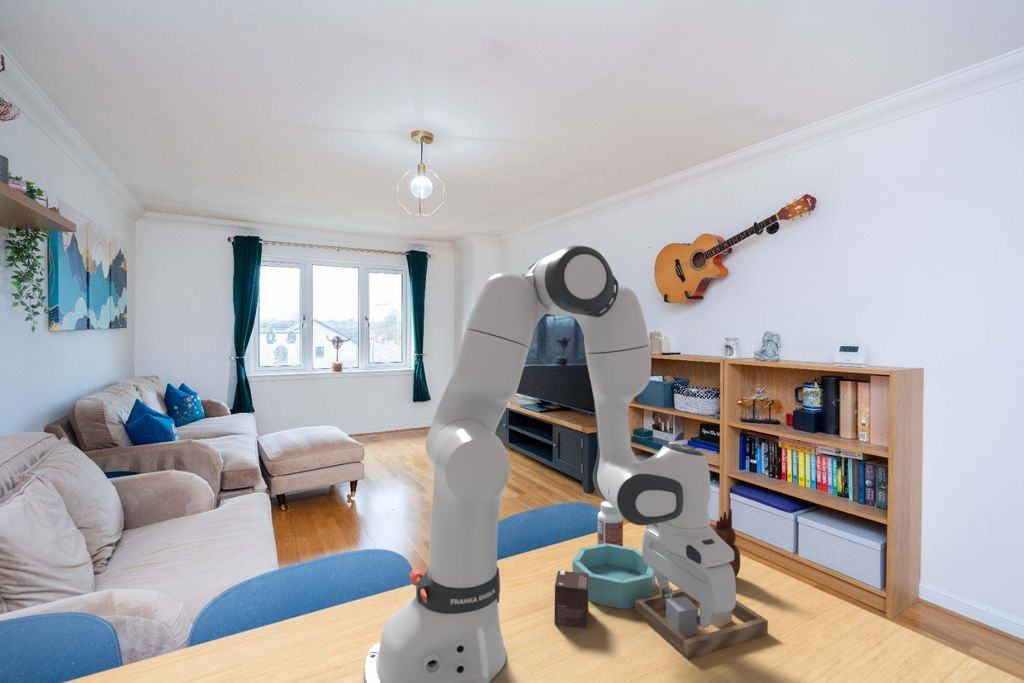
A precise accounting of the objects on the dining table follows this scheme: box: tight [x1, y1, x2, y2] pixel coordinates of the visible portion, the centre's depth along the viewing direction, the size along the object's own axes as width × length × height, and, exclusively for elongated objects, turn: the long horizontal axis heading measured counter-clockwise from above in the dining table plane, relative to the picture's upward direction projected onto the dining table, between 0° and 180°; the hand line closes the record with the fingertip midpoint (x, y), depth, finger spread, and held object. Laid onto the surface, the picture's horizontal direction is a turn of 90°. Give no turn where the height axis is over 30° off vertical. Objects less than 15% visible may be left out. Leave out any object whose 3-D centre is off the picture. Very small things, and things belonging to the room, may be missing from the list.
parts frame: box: [634, 588, 769, 661], centre depth 88 cm, size 18×14×2 cm
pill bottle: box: [597, 500, 624, 546], centre depth 118 cm, size 6×6×11 cm
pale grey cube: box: [665, 597, 700, 637], centre depth 86 cm, size 4×4×4 cm
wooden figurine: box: [711, 508, 741, 579], centre depth 104 cm, size 7×6×15 cm
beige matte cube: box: [699, 606, 733, 629], centre depth 89 cm, size 4×4×4 cm
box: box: [554, 570, 589, 629], centre depth 89 cm, size 6×6×7 cm
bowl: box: [572, 543, 656, 610], centre depth 101 cm, size 16×16×5 cm
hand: (683, 610), depth 87 cm, fingers open, 8 cm apart
